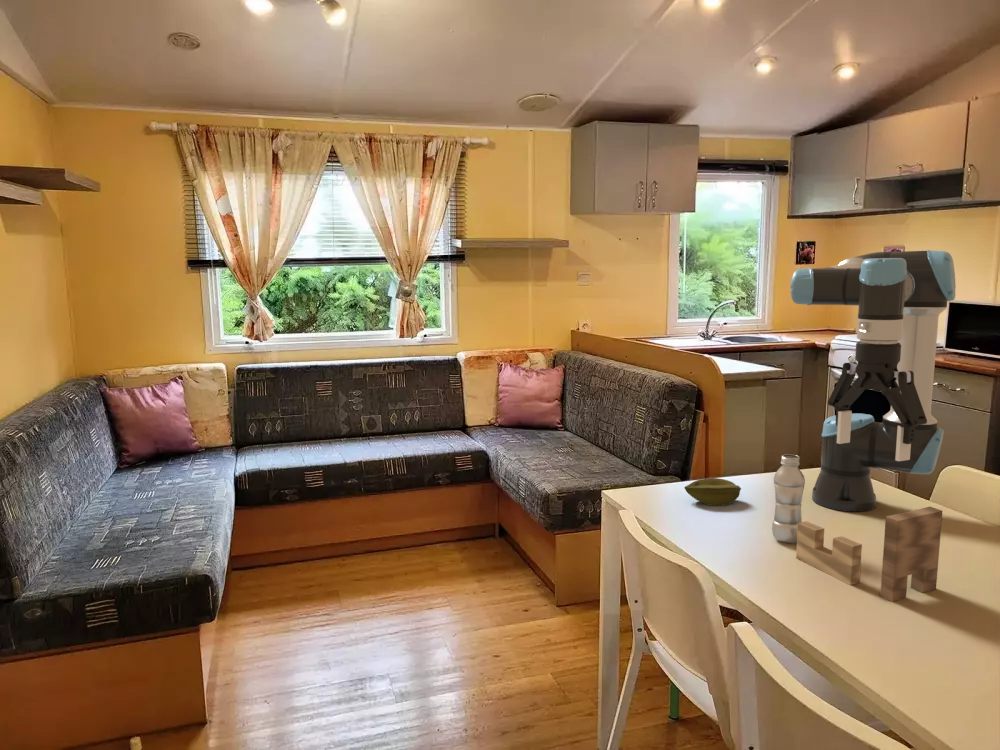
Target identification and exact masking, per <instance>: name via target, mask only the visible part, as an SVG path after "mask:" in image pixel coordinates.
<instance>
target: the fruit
mask: <svg viewBox="0 0 1000 750" xmlns="http://www.w3.org/2000/svg"><path fill="white" fill-rule="evenodd" d="M683 488H684V490H685V492H686V493H687V494H688V495H689V496H691V498H693V499H694V500H696V501H698V502H700V503H702V504H705V505H708V506H711V507H723V506H724V507H725V506H728V505H730V504H732V503H734V502H735V501H736V500H737V499H738V498H739V497H740V495H741V490H742V488H741V486H740V485H736V484H735V483H734V482H733V481H730V480H727V479H723V478H717V477H708V478H702V479H698V480H695V481H693V482H690V483H689V484H687V485H685V486H684V487H683Z"/></svg>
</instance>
